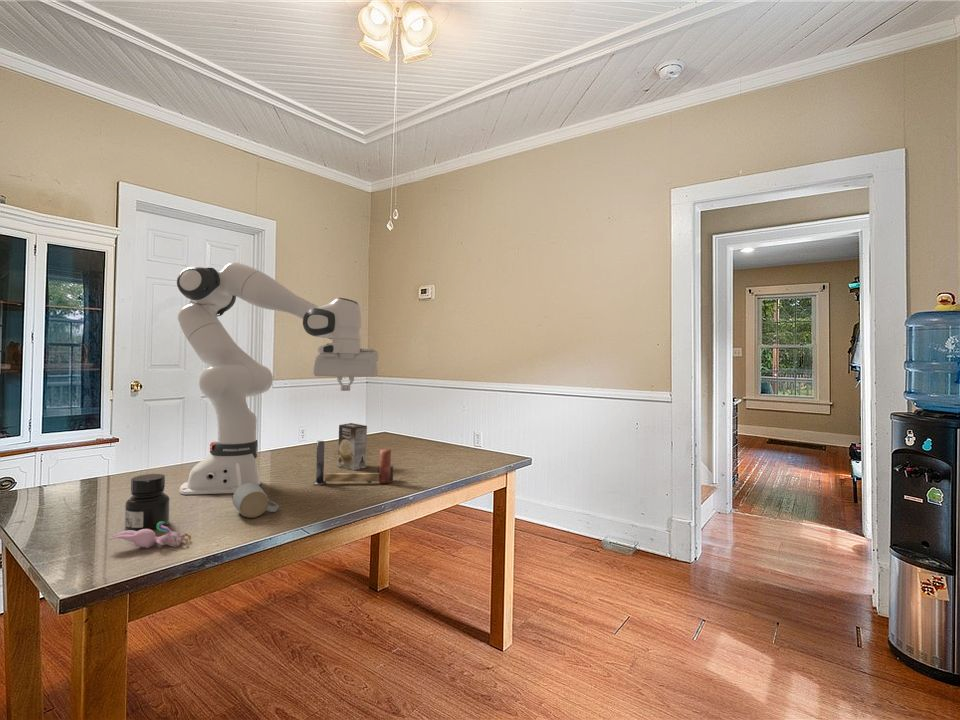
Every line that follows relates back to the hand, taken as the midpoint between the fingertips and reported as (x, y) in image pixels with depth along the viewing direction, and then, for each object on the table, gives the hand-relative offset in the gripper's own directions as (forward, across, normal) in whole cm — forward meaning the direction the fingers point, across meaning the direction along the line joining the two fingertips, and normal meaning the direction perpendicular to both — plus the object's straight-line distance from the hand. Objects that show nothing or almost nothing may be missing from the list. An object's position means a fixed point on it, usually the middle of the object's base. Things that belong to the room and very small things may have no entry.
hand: (345, 390), depth 156 cm
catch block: (+31, -14, -2) cm, 34 cm away
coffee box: (+31, -6, -24) cm, 40 cm away
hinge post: (+31, +7, -4) cm, 32 cm away
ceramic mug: (+31, +25, +20) cm, 45 cm away
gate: (+31, -5, -1) cm, 31 cm away
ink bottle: (+31, +49, +22) cm, 62 cm away
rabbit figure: (+31, +45, +36) cm, 66 cm away
